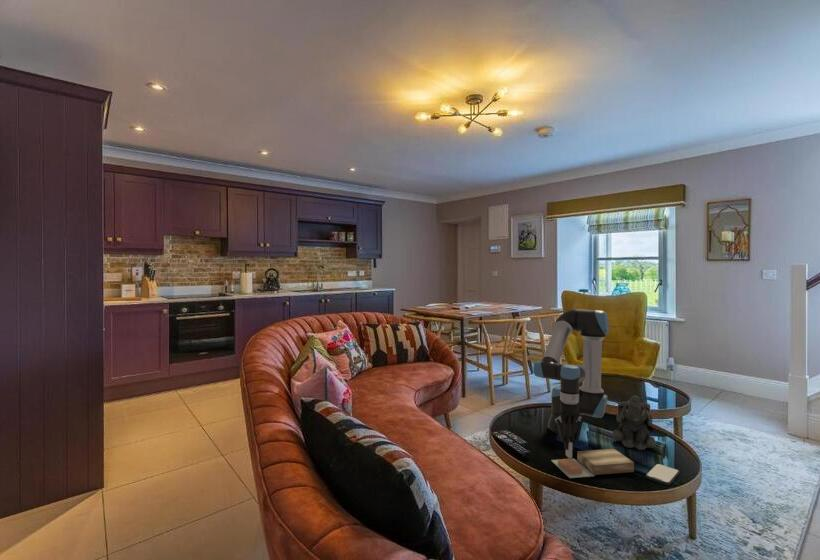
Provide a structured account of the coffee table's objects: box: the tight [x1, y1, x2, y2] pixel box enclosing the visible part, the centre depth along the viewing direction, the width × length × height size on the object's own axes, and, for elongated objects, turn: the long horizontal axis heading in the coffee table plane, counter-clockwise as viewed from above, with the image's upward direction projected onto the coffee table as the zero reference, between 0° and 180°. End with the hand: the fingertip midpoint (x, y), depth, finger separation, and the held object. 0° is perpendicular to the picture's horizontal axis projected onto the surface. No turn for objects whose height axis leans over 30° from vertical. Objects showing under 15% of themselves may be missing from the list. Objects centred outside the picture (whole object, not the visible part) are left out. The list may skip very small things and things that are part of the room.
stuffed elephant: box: [611, 395, 656, 451], centre depth 195 cm, size 19×21×27 cm
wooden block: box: [576, 448, 635, 476], centre depth 173 cm, size 13×18×4 cm
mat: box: [551, 458, 595, 479], centre depth 171 cm, size 15×11×1 cm
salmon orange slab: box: [557, 458, 583, 474], centre depth 170 cm, size 9×6×2 cm, turn 9°
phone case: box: [645, 463, 680, 487], centre depth 166 cm, size 9×2×16 cm
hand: (568, 456), depth 171 cm, fingers closed
